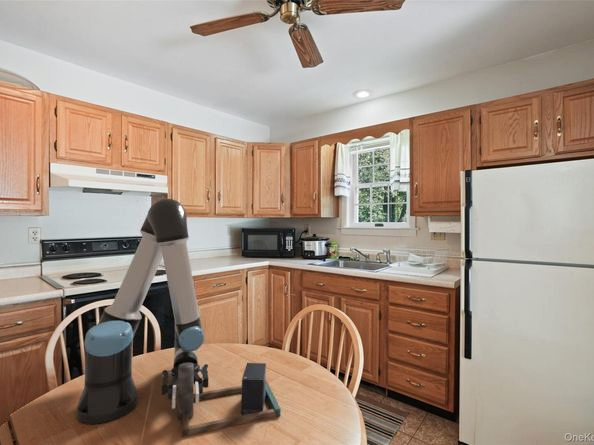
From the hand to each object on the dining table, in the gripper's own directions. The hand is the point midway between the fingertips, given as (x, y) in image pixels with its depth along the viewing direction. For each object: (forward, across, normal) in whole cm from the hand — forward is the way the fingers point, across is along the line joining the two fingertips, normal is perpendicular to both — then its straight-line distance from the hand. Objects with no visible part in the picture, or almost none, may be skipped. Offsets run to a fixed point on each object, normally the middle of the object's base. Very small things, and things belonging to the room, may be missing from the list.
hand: (185, 400), depth 80 cm
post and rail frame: (-5, -11, -7) cm, 15 cm away
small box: (-5, -19, -8) cm, 21 cm away
